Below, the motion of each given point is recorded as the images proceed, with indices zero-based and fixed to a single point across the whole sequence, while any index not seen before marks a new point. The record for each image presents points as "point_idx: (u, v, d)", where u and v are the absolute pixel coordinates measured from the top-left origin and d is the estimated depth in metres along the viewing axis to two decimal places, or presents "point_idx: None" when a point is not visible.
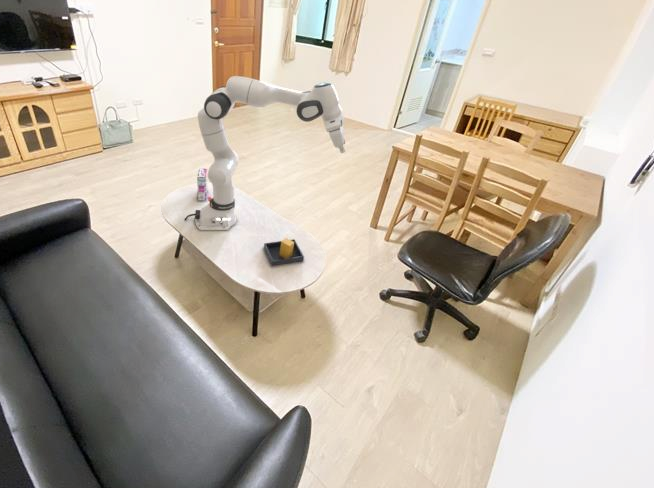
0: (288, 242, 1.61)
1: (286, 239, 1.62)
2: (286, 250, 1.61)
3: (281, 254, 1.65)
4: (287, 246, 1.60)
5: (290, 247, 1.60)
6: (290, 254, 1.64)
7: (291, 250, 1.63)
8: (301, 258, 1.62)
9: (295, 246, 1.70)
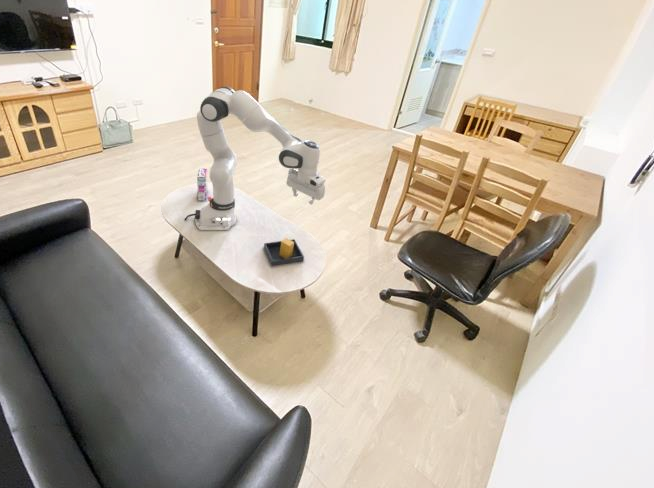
0: (288, 242, 1.61)
1: (286, 239, 1.62)
2: (286, 250, 1.61)
3: (281, 254, 1.65)
4: (287, 246, 1.60)
5: (290, 247, 1.60)
6: (290, 254, 1.64)
7: (291, 250, 1.63)
8: (301, 258, 1.62)
9: (295, 246, 1.70)
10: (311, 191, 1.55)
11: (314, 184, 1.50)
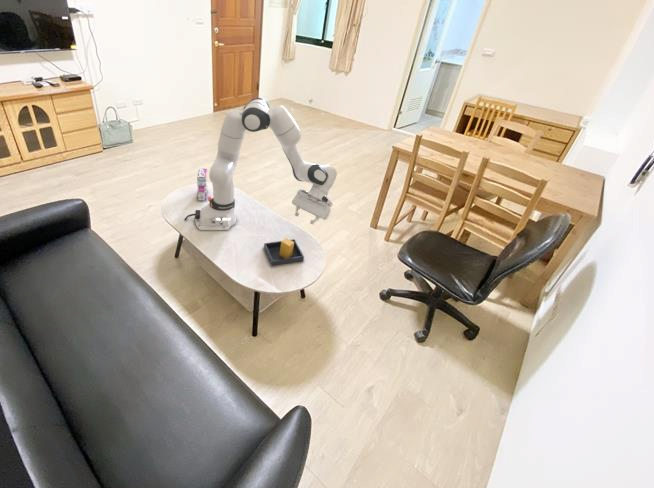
0: (288, 242, 1.61)
1: (286, 239, 1.62)
2: (286, 250, 1.61)
3: (281, 254, 1.65)
4: (287, 246, 1.60)
5: (290, 247, 1.60)
6: (290, 254, 1.64)
7: (291, 250, 1.63)
8: (301, 258, 1.62)
9: (295, 246, 1.70)
10: (318, 209, 1.63)
11: (325, 200, 1.61)
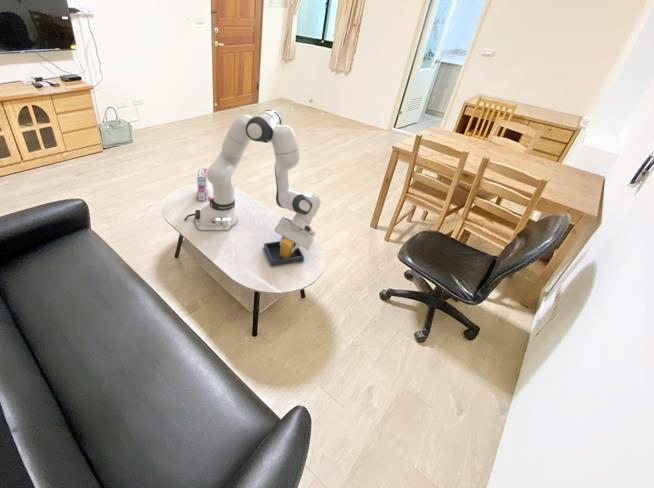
0: (287, 242, 1.61)
1: (286, 239, 1.62)
2: (286, 250, 1.61)
3: (281, 254, 1.65)
4: (287, 246, 1.60)
5: (290, 247, 1.60)
6: (290, 254, 1.64)
7: None
8: (301, 258, 1.62)
9: None
10: (300, 238, 1.60)
11: (308, 230, 1.58)
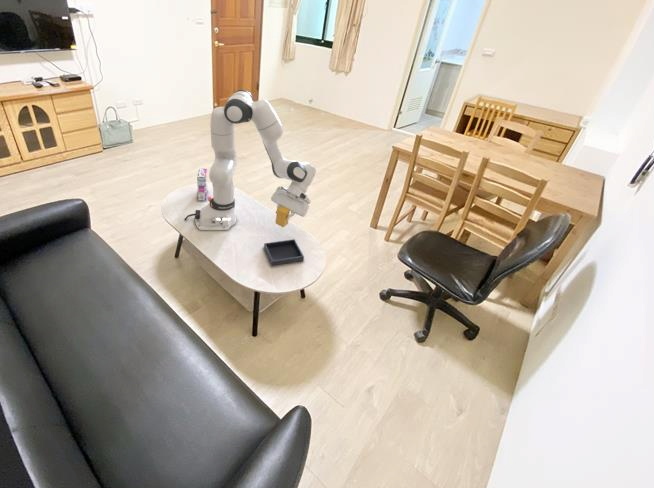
0: (283, 209, 1.64)
1: (282, 207, 1.66)
2: (282, 218, 1.65)
3: (277, 222, 1.68)
4: (283, 213, 1.63)
5: (285, 214, 1.63)
6: (286, 222, 1.67)
7: None
8: (301, 258, 1.62)
9: (295, 246, 1.70)
10: (296, 205, 1.63)
11: (303, 197, 1.61)
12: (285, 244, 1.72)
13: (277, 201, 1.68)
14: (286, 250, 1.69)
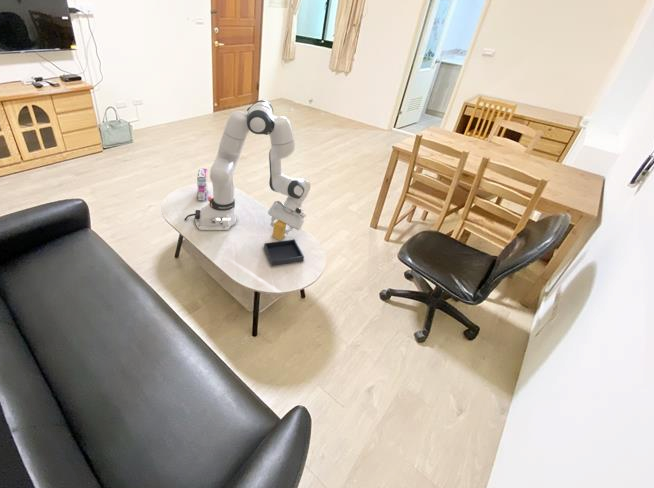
0: (280, 223, 1.73)
1: (278, 221, 1.75)
2: (278, 231, 1.74)
3: (274, 235, 1.77)
4: (279, 227, 1.72)
5: (282, 228, 1.72)
6: (282, 235, 1.76)
7: (283, 232, 1.75)
8: (301, 258, 1.62)
9: (295, 246, 1.70)
10: (292, 219, 1.72)
11: (299, 212, 1.70)
12: (285, 244, 1.72)
13: (274, 215, 1.76)
14: (286, 250, 1.69)
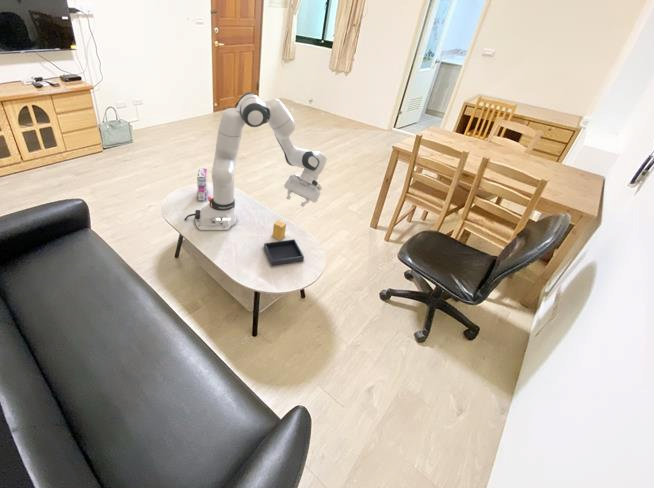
0: (280, 223, 1.73)
1: (278, 221, 1.75)
2: (278, 231, 1.74)
3: (274, 235, 1.77)
4: (279, 227, 1.72)
5: (282, 228, 1.72)
6: (282, 235, 1.76)
7: (283, 232, 1.75)
8: (301, 258, 1.62)
9: (295, 246, 1.70)
10: (308, 192, 1.74)
11: (315, 184, 1.72)
12: (285, 244, 1.72)
13: (290, 188, 1.79)
14: (286, 250, 1.69)
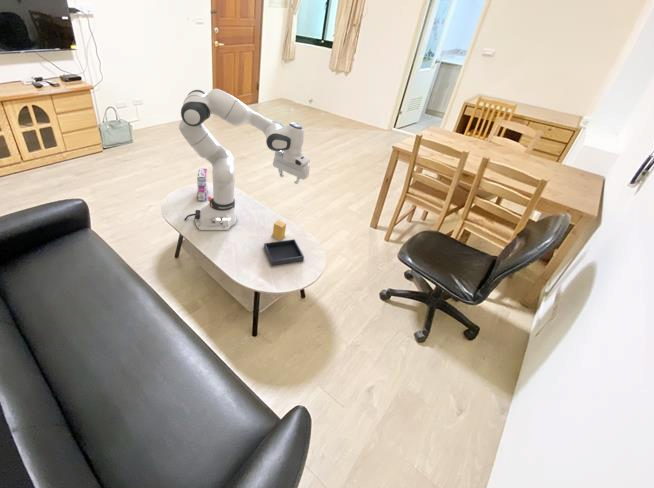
0: (280, 223, 1.73)
1: (278, 221, 1.75)
2: (278, 231, 1.74)
3: (274, 235, 1.77)
4: (279, 227, 1.72)
5: (282, 228, 1.72)
6: (282, 235, 1.76)
7: (283, 232, 1.75)
8: (301, 258, 1.62)
9: (295, 246, 1.70)
10: (296, 171, 1.64)
11: (299, 164, 1.59)
12: (285, 244, 1.72)
13: (279, 167, 1.70)
14: (286, 250, 1.69)
